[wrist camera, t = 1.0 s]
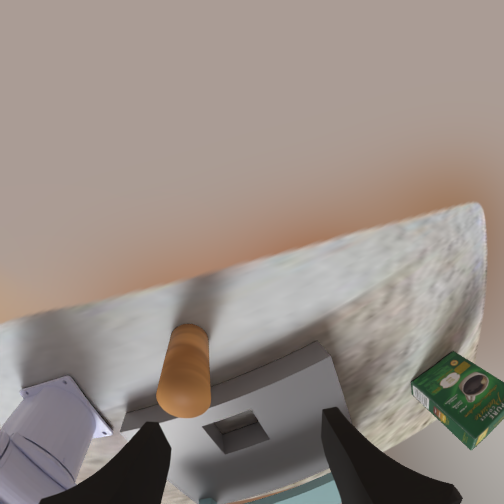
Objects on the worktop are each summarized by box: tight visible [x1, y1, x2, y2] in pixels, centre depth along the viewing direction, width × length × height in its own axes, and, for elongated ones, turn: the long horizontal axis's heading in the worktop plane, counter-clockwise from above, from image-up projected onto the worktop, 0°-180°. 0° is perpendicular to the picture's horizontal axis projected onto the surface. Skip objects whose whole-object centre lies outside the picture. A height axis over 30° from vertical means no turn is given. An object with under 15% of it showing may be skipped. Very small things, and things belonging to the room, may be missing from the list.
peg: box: [156, 324, 211, 418], centre depth 18 cm, size 3×3×8 cm
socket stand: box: [120, 341, 352, 504], centre depth 20 cm, size 20×16×8 cm
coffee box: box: [411, 351, 504, 450], centre depth 21 cm, size 8×3×13 cm, turn 110°
